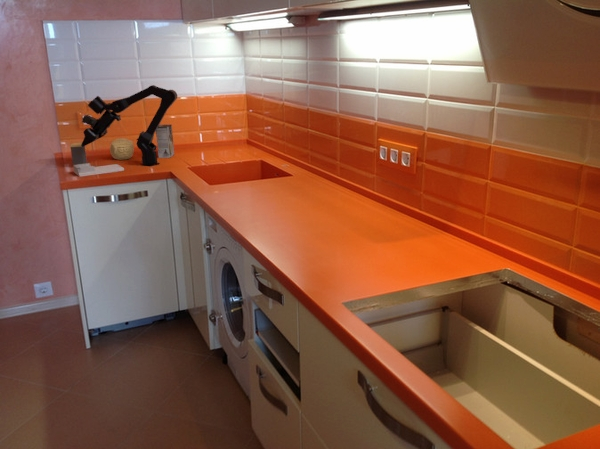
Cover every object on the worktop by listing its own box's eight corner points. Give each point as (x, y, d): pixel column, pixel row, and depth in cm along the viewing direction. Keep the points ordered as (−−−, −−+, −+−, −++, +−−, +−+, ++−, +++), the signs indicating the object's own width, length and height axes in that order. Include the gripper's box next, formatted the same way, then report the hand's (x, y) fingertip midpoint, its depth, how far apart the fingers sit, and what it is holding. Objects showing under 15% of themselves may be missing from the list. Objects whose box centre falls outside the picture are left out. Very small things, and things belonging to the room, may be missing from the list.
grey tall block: (87, 165, 269) (84, 142, 266) (83, 167, 265) (80, 144, 261) (77, 165, 269) (73, 143, 266) (73, 167, 265) (70, 144, 261)
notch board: (117, 166, 265) (116, 159, 264) (123, 170, 256) (123, 163, 255) (74, 172, 254) (72, 164, 253) (79, 176, 246) (78, 168, 244)
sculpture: (114, 162, 275) (111, 140, 272) (109, 158, 285) (106, 137, 282) (137, 159, 281) (134, 138, 277) (131, 155, 291) (129, 135, 287)
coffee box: (162, 154, 292) (159, 124, 287) (174, 154, 292) (171, 124, 287) (158, 158, 283) (155, 127, 278) (170, 157, 283) (167, 126, 278)
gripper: (97, 107, 267) (78, 129, 271) (85, 111, 250) (64, 135, 253) (116, 122, 270) (96, 145, 273) (104, 128, 253) (83, 152, 256)
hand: (85, 144), depth 264 cm, fingers open, 9 cm apart
